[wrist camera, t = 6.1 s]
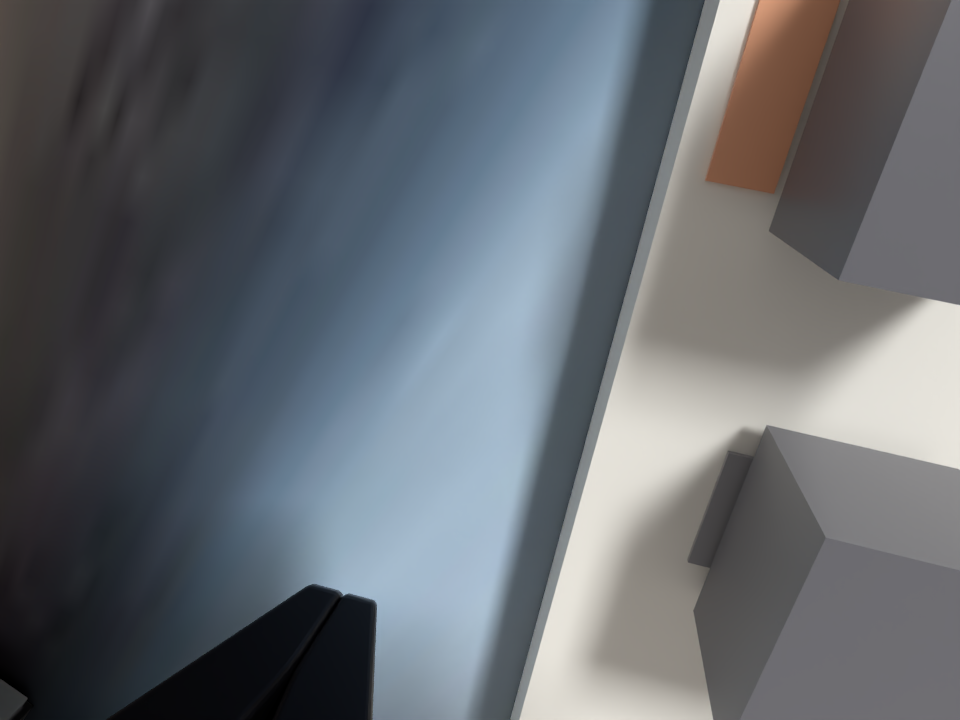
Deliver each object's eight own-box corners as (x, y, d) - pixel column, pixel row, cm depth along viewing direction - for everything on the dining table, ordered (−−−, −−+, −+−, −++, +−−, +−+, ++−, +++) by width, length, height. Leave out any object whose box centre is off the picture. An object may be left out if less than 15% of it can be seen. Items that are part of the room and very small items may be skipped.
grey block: (958, 468, 10) (1093, 603, 7) (858, 653, 12) (938, 822, 9) (766, 424, 10) (826, 537, 8) (693, 610, 12) (720, 760, 9)
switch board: (1986, -171, 8) (2462, -268, 6) (1005, 945, 17) (1058, 1054, 15) (788, -309, 9) (839, -425, 7) (490, 791, 18) (477, 872, 16)
